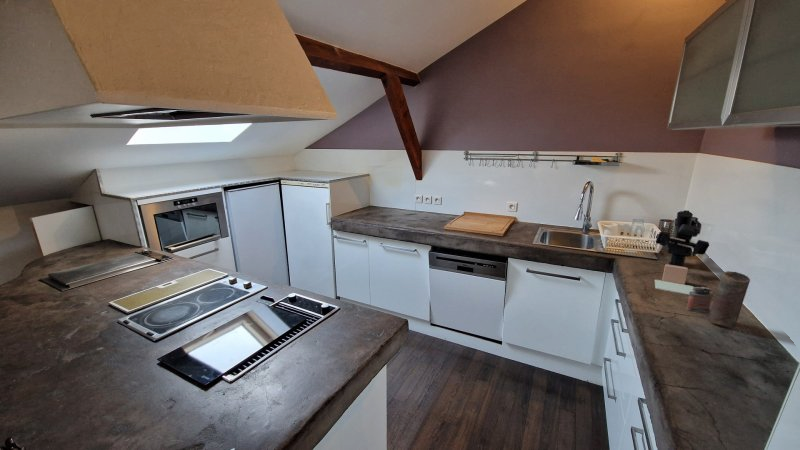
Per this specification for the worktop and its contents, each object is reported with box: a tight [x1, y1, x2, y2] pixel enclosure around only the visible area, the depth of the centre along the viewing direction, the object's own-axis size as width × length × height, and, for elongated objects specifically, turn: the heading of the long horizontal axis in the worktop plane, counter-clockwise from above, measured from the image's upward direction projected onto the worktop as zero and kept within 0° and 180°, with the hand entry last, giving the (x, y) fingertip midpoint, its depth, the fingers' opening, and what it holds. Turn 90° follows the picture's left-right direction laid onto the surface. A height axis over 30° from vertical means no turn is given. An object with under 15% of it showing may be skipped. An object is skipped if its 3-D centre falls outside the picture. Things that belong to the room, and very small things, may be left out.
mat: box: [654, 279, 694, 296], centre depth 149 cm, size 10×14×1 cm
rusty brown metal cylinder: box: [707, 270, 751, 328], centre depth 119 cm, size 8×7×20 cm
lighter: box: [685, 286, 714, 313], centre depth 130 cm, size 8×3×10 cm, turn 84°
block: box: [661, 263, 689, 285], centre depth 153 cm, size 2×8×8 cm, turn 55°
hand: (681, 252), depth 151 cm, fingers open, 9 cm apart
